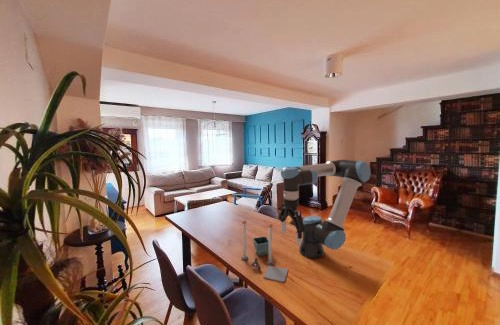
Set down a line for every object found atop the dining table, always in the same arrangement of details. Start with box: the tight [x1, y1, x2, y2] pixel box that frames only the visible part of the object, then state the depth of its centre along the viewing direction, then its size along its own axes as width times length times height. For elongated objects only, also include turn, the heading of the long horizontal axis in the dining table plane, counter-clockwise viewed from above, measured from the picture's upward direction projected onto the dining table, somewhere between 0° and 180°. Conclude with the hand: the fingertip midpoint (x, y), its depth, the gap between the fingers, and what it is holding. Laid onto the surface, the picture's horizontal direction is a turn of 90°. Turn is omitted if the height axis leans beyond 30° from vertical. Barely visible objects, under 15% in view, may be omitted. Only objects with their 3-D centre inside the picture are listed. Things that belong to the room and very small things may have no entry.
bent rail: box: [250, 257, 262, 272], centre depth 123 cm, size 8×5×3 cm, turn 160°
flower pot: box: [252, 236, 269, 257], centre depth 136 cm, size 9×9×9 cm
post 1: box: [240, 219, 249, 261], centre depth 130 cm, size 4×4×24 cm
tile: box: [263, 265, 289, 283], centre depth 116 cm, size 11×11×1 cm
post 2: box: [266, 222, 274, 266], centre depth 124 cm, size 4×4×24 cm
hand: (290, 238), depth 111 cm, fingers open, 13 cm apart
